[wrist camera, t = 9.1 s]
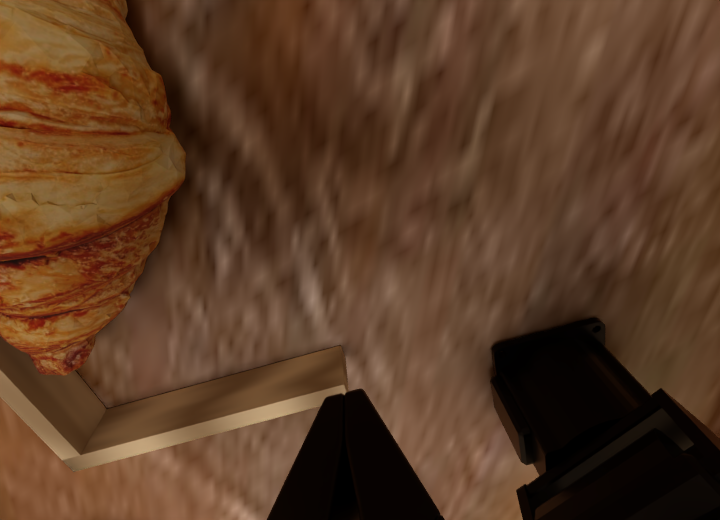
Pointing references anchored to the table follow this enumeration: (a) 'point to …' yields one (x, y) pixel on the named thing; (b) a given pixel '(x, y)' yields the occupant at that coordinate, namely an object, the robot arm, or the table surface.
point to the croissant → (77, 173)
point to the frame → (160, 405)
